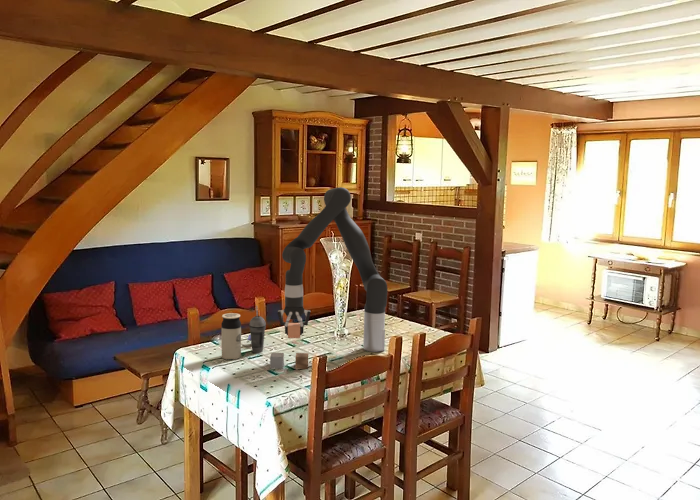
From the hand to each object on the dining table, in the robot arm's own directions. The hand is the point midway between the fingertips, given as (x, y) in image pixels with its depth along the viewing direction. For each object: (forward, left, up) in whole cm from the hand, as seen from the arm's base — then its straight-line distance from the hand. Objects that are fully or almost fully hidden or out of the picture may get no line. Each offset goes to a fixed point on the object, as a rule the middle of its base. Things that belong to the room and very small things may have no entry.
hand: (294, 334), depth 239 cm
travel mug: (+26, -2, -11) cm, 29 cm away
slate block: (+6, +9, -11) cm, 15 cm away
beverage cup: (+16, -10, -11) cm, 22 cm away
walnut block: (-4, +9, -11) cm, 14 cm away
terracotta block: (0, 0, -1) cm, 1 cm away
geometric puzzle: (+18, -19, -11) cm, 29 cm away
